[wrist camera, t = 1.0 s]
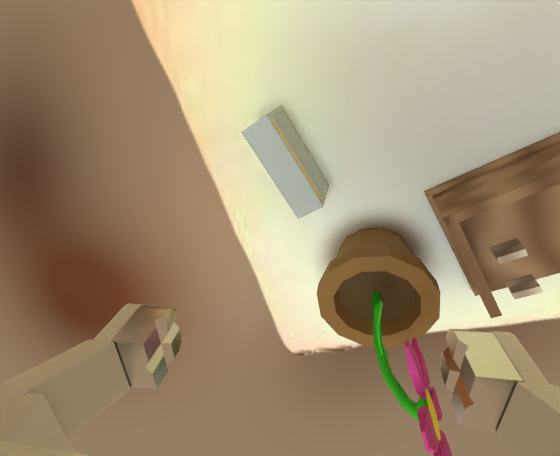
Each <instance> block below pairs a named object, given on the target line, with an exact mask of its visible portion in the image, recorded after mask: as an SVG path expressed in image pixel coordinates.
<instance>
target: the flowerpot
mask: <svg viewBox="0 0 560 456" xmlns="http://www.w3.org/2000/svg"><path fill="white" fill-rule="evenodd" d="M317 297H318V303H319V308H320V313H321V317H322V318H323V319H324V320H325V321H326V322H327V323H328V324H329V325H330V326H331V327H332V328H333V330H334V331H335V332H336V333H337V334H338V335H340V336H343V337H345V338H347V339H350V340H352V341H354V342H357V343H359V344H362V345H364V346H374V347H375V351H376V354H377V358H378V362H379V365H380V369H381V372H382V376H383V378H384V380H385V381H386V383H387V384H388V386H389V387H390V389H391V390H392V392H393V393H394V395H395V396H396V398H397V400H398V401H399V403H400V404H401V406H402V407H403V408H404V409H405V410H406V411H407V412H409V414H411V415H412V416H413V417H414V418H415V419H416V420H417V421H418V422H419V424H420V429H421V433H422V437H423V440H424V444H425V448H426V450H427V452H434V456H452V453H451V450H450V448H449V445H448V442H447V439H446V436H445V434H444V433H443V432H442V431H441V430H440V429H439V425H438V420H441V419H442V413H441V409H440V406H439V402H438V399H437V395H436V392H435V388H434V387H431V388H429V383H430V381H429V376H428V372H427V368H426V364H425V360H424V357H423V355H422V352H421V350H420V347H419V345H418V342H417V340H416V339H419V338H421V337H423V335H424V334H425V333H426V332H427V331H428V330H429V329H430V328H431V327H432V325H433V324H434V323H435V322H436V321H437V320H438V319H439V312H440V290H439V287H438V284H437V281H436V280H435V279H434V277H433V276H432V275H431V273H430V272H429V271H428V269H427V268H426V267H425V266H424V264H423V263H422V262H421V260H420V259H418V258H416V257H414V256H413V254H412V252H411V250H410V248H409V247H408V246H407V244H406V243H405V242H404V241H403V239H402V238H401V237H400V235H398V234H395V233H393V232H391V231H388V230H386V229H383V228H370V229H361V230H359V231H358V232H356V233H354V234H352V235H351V236H349V237H347V238H346V240H345V242H344V243H343V245H342V247H341V249H340V251H339V253H338V256H337V258H336V259H335V260H333V261H331V262H330V263H329V265H328V267H327V269H326V271H325V273H324V274H323V276H322V278H321V280H320V282H319V285H318V290H317ZM410 341H412V346H411V344H410V343H409V342H410ZM402 344H405V351H406V357H407V362H408V368H409V373H410V375H411V378H412V381H413V384H414V386H415V389H416V392H417V393H418V394H419V395H420V399H419V401H418V402H417V403H415V402H414V401H412V400H411V399H410V398H409V397H408V396H407V394H406V393H405V391H404V390H403V388H402V387H401V386H400V384H399V383H398V381H397V380H396V379H395V377H394V375H393V374H392V371H391V368H390V365H389V362H388V359H387V358H388V354H387V352H386V350H385V348H384V347H396V346H399V345H402Z"/></svg>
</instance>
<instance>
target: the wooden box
mask: <svg viewBox="0 0 560 456" xmlns="http://www.w3.org/2000/svg"><path fill="white" fill-rule="evenodd" d="M425 194H426V196H427V198H428V201H429V203H430V205H431V207H432V209H433V211H434V213H435V215H436V217H437V219H438V221H439V223H440V225H441V227H442V229H443V231H444V233H445V235H446V237H447V239H448V241H449V243H450V245H451V248H452V250H453V252H454V254H455V256H456V258H457V260H458V262H459V264H460V266H461V268H462V270H463V272H464V274H465V276H466V278H467V280H468V282H469V284H470V286H471V288H472V290H473V292H474V295H475V296H477V295H480V296H481V298H482V301H483V303H484V305H485V307H486V309H487V311H488V313H489V315H490V317H491V318H494V317H498V316H502V314H501V312H500V310H499V308H498V306H497V303H496V301H495V299H494V297H493V295H492V293H491V291H495V290H499V289H502V288H506V287H508V289H509V290H510V292H511V294H512V295H513V297H514V299H518V298H522V297H526V296H530V295H533V294H537V293H541V292H542V289H541V287H540V285H539V284H538V283H537V281H536V280H535V279H539V278H542V277H546V276H550V275H553V274H557V273H560V133H558V134H555V135H553V136H551V137H548V138H546V139H544V140H542V141H539V142H537V143H535V144H532V145H530V146H528V147H525V148H523V149H521V150H519V151H516V152H514V153H512V154H509V155H507V156H505V157H503V158H500V159H498V160H496V161H493V162H491V163H489V164H486V165H484V166H482V167H480V168H477V169H475V170H473V171H470V172H468V173H466V174H464V175H461V176H459V177H457V178H454V179H452V180H450V181H447V182H445V183H443V184H441V185H438V186H436V187H434V188H431V189H429V190H427V191H425Z"/></svg>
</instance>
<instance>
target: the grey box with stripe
mask: <svg viewBox="0 0 560 456" xmlns="http://www.w3.org/2000/svg"><path fill="white" fill-rule="evenodd" d="M242 134H243V135H244V137H245V138H246V140H247V141H248V143H249V144H250V146H251V147H252V149H253V151H254V152H255V154H256V155H257V157H258V158H259V160H260V161H261V163H262V164H263V166H264V167H265V169H266V170H267V172H268V173H269V175H270V176H271V178H272V180H273V181H274V183H275V184H276V186H277V187H278V189H279V190H280V192H281V193H282V195H283V196H284V198H285V199H286V201H287V202H288V204H289V205H290V207H291V209H292V210H293V212H294V213H295V215H296V216H297V218H300V217H302V216H305V215H307V214H309V213H311V212H313V211H315V210H317V209H319V208H321V207H323V205H324V201H325V197H326V194H327V190H328V186H329V185H328V183H327V182H326V180H325V178H324V177H323V175H322V173H321V172H320V170H319V168H318V166H317V165H316V163H315V161H314V160H313V158H312V156H311V155H310V153H309V151H308V150H307V148H306V146H305V145H304V143H303V141H302V140H301V138H300V136H299V135H298V133H297V131H296V129H295V128H294V126H293V124H292V123H291V121H290V119H289V118H288V116H287V114H286V113H285V111H284V109H283V108H282V106H279V107H278V108H276V109H275V110H273V111H272V112H270V113H269V114H267V115H266V116H264V117H263V118H261V119H260V120H258V121H257V122H255V123H254V124H253V125H251V126H250V127H248V128H247V129H245V130H244V131H242Z"/></svg>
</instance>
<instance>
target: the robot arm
mask: <svg viewBox="0 0 560 456" xmlns="http://www.w3.org/2000/svg"><path fill="white" fill-rule="evenodd" d="M176 319H177V314H176V310H175V309H173V308H171V307H161V306H151V305H138V304H128V305H125V306H124V307H123V308H122V309H121V310H120V311H119V312H118V314H117V315H116V316H115V317H114V318H113V319H112V320H111V321H110V322H109V323H108V325H107V326H106V327H105V328H104V329H103V330H102V331H101V332H100V333H99V334H98V335H97V336H96V338H95V339H94V340H87V341H85V342H83V343H81V344H79V345H77V346H75V347H73V348H71V349H70V350H68V351H65V352H64V353H62V354H60V355H58V356H56V357H54V358H52V359H50V360H48V361H46V362H44V363H42V364H40V365H38V366H36V367H34V368H33V369H30V370H28V371H26V372H25V373H23V374H21V375H19V376H17V377H15V378H13V379H11V380H9V381H7V382H5V383H3V384H1V385H0V456H91V455H84V454H79V453H75V451H74V449H73V448H72V446H71V444H70V442H69V440H68V439H69V438H71V437H72V436H73V435H74V434H76V433H77V432H78V431H79V430H80V429H81V428H83V427H84V426H85V425H86V424H88V423H89V422H90V421H92V420H93V419H94V418H95V417H97V416H98V415H99V414H100V413H101V412H103V411H104V410H105V409H106V408H107V407H109V406H110V405H111V404H113V402H115V401H116V400H118V399H119V398H120V397H121V396H122V395H124V394H125V393H126V392H127V391H129V390H130V387H132V388H143V389H155V390H157V389H158V387H159V386H160V384H161V382H162V380H163V379H164V377H165V375H166V373H167V371H168V369H167V364H168V363H169V362H171V361H172V360H174V359H175V357H176V355H177V353H178V352H179V348H180V345H181V331H180V328H179V327H178V326H177V325H176V324H175V323H174V322H175V321H176ZM446 342H447V344H448V348H446V349H445V350H444V351H443V352H442V356H441V373H442V378H443V381H444V384H445V387H446V388H447V389H448V390H449V391H451V392H452V393H453V396H452V399H451V404H452V407H453V409H454V412H455V415H456V418H457V421H458V423H459V426H462V427H469V428H475V429H482V430H489V431H495V432H496V434H497V435H498V436H499V437H500V438H501V439H502V440H503V441H504V442H505V444H506V445H507V446H508V447H509V448H510V449H511V450H512V451H513V452H514V453H515V454H516V455H517V456H560V388H559V387H558V386H556V385H549V383H548V382H547V381H546V379H545V378H544V376H543V375H542V373H541V372H540V370H539V369H538V368H537V366H536V365H535V363H534V362H533V361H532V359H531V358H530V356H529V355H528V354H527V352H526V351H525V349H524V348H523V346H522V345H521V343H520V342H519V341H518V339H517V338H516V336H515V335H513V334H512V333H510V332H495V331H494V332H493V331H489V332H488V331H474V330H461V329H449V331H448V332H447V336H446Z"/></svg>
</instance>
